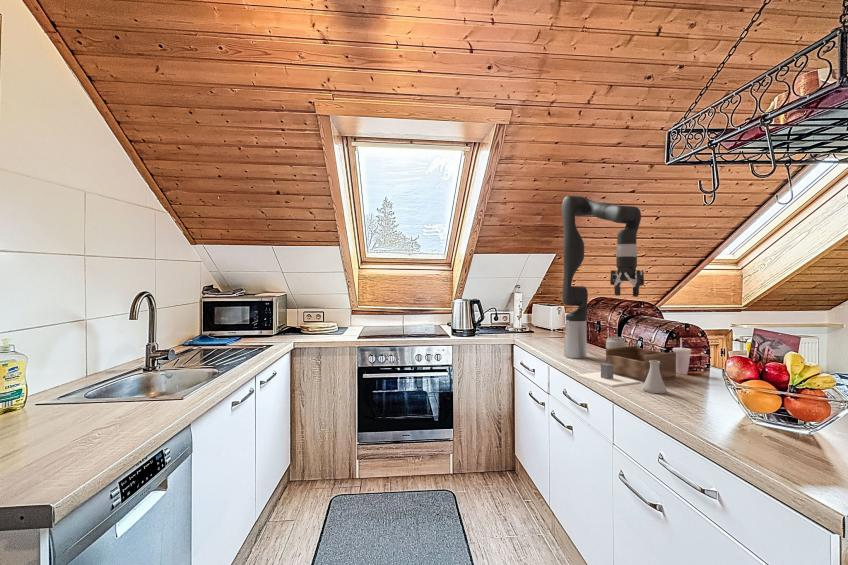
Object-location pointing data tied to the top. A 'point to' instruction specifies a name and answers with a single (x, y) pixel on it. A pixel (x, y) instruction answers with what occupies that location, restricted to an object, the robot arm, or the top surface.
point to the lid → (607, 377)
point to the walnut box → (640, 362)
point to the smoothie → (682, 359)
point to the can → (615, 342)
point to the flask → (654, 379)
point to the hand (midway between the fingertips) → (626, 296)
